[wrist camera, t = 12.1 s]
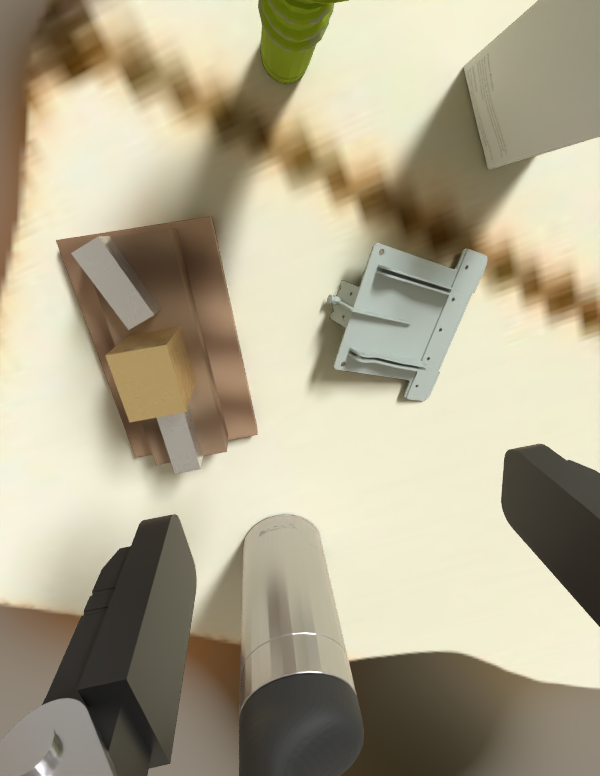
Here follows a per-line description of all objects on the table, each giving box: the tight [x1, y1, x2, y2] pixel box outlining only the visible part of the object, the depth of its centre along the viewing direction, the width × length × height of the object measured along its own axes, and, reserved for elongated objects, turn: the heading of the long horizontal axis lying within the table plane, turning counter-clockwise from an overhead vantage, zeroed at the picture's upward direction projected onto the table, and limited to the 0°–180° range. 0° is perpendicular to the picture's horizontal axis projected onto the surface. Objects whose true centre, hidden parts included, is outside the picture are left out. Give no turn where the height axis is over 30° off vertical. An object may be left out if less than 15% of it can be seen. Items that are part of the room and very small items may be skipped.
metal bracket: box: [327, 243, 487, 401], centre depth 36 cm, size 14×6×15 cm
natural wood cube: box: [105, 326, 196, 423], centre depth 29 cm, size 5×4×6 cm
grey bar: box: [71, 236, 203, 474], centre depth 30 cm, size 19×4×2 cm, turn 8°
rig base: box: [56, 216, 257, 465], centre depth 33 cm, size 20×12×4 cm, turn 8°
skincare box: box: [464, 0, 600, 170], centre depth 25 cm, size 8×6×15 cm
